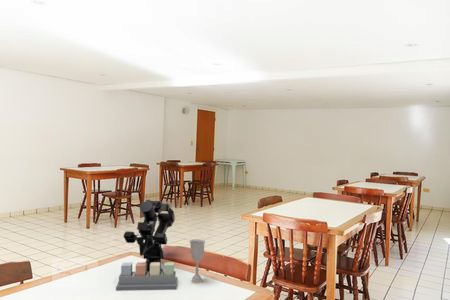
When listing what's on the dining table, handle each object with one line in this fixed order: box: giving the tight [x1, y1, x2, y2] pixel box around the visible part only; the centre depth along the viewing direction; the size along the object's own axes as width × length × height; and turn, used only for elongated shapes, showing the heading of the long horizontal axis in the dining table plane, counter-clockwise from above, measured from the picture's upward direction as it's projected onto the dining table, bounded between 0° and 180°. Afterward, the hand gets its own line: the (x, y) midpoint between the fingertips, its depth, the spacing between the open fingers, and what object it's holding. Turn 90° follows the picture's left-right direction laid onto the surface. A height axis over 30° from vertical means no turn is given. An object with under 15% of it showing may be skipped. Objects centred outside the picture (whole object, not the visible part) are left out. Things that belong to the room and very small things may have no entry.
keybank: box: [115, 270, 178, 291], centre depth 160 cm, size 25×10×5 cm, turn 95°
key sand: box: [150, 262, 160, 276], centre depth 160 cm, size 4×4×6 cm
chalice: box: [188, 238, 206, 284], centre depth 165 cm, size 7×7×18 cm
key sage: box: [163, 261, 175, 276], centre depth 160 cm, size 4×4×6 cm
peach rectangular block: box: [135, 261, 147, 276], centre depth 159 cm, size 4×4×6 cm
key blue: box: [120, 262, 133, 276], centre depth 159 cm, size 4×4×6 cm
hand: (141, 255), depth 159 cm, fingers closed
